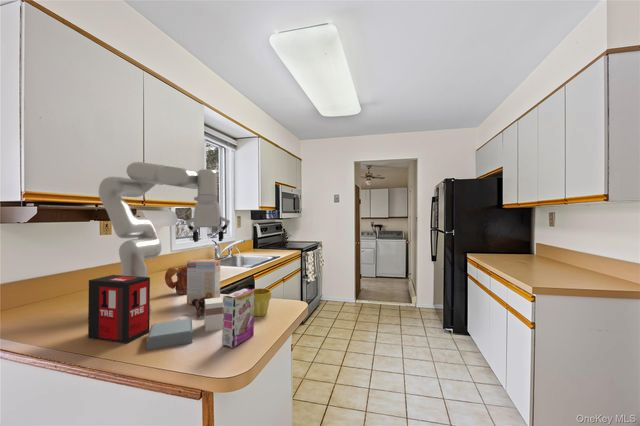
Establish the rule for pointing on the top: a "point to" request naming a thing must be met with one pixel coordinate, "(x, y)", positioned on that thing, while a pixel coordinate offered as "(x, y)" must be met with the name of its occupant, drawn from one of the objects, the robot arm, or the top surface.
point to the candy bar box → (238, 317)
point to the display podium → (169, 334)
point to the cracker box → (203, 279)
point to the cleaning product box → (118, 308)
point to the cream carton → (213, 314)
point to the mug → (181, 279)
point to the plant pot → (261, 301)
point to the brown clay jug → (199, 305)
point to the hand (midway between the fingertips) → (208, 241)
